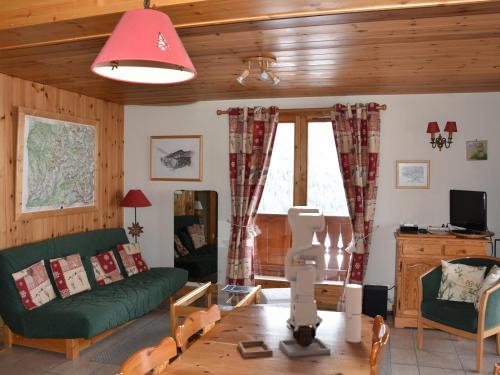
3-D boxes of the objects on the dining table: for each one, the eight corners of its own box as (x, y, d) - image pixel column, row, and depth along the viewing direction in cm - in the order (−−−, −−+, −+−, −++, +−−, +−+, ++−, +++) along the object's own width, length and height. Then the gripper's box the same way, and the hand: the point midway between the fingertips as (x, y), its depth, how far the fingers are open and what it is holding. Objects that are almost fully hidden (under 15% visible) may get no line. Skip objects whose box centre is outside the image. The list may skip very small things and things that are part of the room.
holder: (237, 346, 198) (237, 341, 198) (263, 344, 201) (264, 339, 201) (244, 357, 185) (244, 352, 185) (272, 355, 188) (272, 350, 188)
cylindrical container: (361, 343, 204) (362, 288, 204) (344, 341, 206) (346, 287, 205) (360, 337, 211) (361, 284, 211) (344, 336, 213) (345, 283, 212)
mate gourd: (302, 340, 200) (303, 318, 199) (316, 345, 194) (317, 322, 194) (292, 344, 195) (293, 321, 194) (306, 349, 189) (306, 326, 189)
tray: (279, 346, 199) (279, 340, 199) (317, 343, 203) (317, 337, 203) (289, 358, 185) (289, 352, 185) (330, 355, 190) (330, 349, 189)
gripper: (288, 301, 188) (287, 343, 188) (327, 299, 192) (326, 340, 193) (283, 296, 195) (282, 337, 196) (320, 294, 200) (319, 334, 200)
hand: (304, 338), depth 194 cm, fingers closed on mate gourd, 7 cm apart
